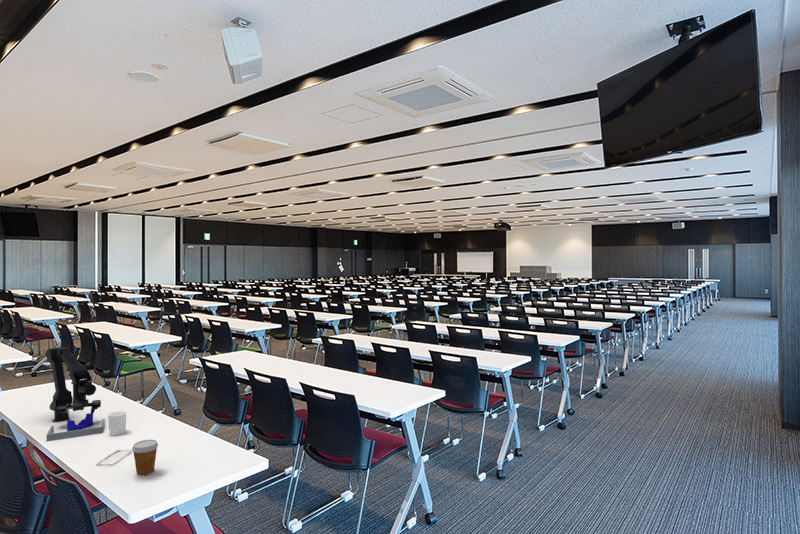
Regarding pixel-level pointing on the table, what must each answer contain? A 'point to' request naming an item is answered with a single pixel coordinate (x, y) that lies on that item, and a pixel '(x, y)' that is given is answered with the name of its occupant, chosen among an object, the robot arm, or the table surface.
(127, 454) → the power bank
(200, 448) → the table surface
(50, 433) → the box
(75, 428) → the blue v notch block
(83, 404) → the robot arm
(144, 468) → the disposable coffee cup
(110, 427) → the white cup
